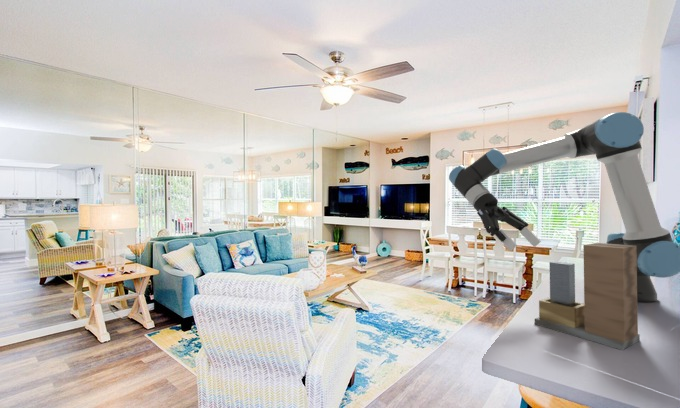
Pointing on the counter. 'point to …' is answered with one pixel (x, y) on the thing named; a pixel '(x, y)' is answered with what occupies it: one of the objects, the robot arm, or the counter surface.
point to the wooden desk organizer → (601, 299)
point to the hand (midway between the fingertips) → (526, 246)
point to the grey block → (562, 283)
